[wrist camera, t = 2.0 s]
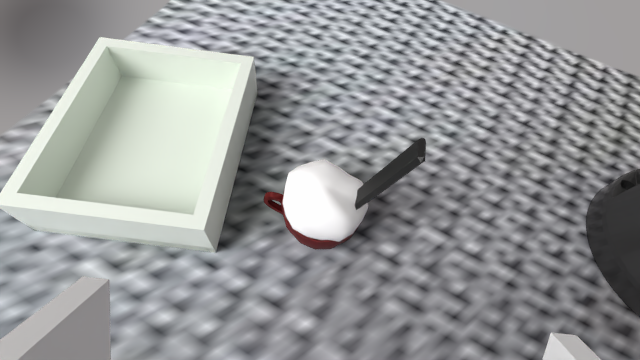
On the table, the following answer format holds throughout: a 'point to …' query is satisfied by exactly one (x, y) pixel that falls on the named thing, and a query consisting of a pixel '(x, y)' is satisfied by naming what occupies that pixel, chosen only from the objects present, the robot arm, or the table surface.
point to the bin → (139, 147)
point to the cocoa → (335, 197)
